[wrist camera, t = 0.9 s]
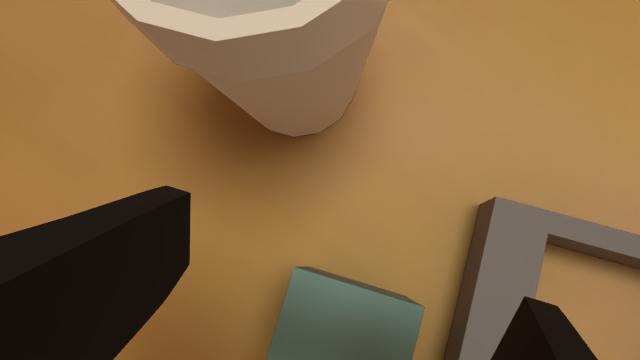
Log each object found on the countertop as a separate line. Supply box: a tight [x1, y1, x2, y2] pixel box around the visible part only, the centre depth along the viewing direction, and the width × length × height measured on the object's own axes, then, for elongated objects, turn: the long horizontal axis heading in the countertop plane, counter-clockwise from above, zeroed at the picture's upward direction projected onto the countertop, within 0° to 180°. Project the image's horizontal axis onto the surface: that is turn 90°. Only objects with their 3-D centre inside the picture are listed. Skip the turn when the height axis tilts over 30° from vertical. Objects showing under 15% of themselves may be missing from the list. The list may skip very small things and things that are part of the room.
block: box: [266, 267, 425, 360], centre depth 18 cm, size 5×5×6 cm
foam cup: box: [110, 0, 389, 137], centre depth 18 cm, size 10×9×13 cm
